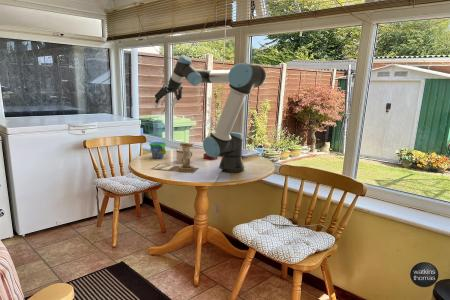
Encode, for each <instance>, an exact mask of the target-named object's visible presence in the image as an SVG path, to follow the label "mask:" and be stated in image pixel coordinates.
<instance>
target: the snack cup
mask: <svg viewBox="0 0 450 300" xmlns="http://www.w3.org/2000/svg"><path fill="white" fill-rule="evenodd" d="M166 144H167V143H166V142H163V141H153V142H149V146H150V152H151V156H152V158H153V159H163V158H164V155H166V153H167V151H166Z"/></svg>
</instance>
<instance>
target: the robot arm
mask: <svg viewBox="0 0 450 300" xmlns="http://www.w3.org/2000/svg"><path fill="white" fill-rule="evenodd" d="M192 61H193V60H192V59H191V58H190V57H189V56H187V55H185V54H181V55H180V56H179V57H178V59H177V61H176V64H175V66H174V69H173V71H172V72H171V76H170V77H169V80H168V84H167V85H166V84H165V83H164V84H163V85H162V87H161V88H160V89H159V90H158V92H156V94H155V95H154V98H156V99H155V103H154V104H153V105H154V108H156V109H158V107H159V105H160V103H161V99H162V98H164V97H165V96H166V95H167V94H170V93H171V94H173V93H174V98H173V99H172V101H171V104H170V106H171V108H173V109H174V108H175V106H176V104H177V103H178V101H180V100H181V99H182V96H183V92H182V91H183V86H182V84H183V81H184V79H185V80H186V81H188V83H189V84H191V86H194V87H196V86H198V85H200V84H203V83H204V84H229V85H228V86H229V93H228V96H227V98H226V101H225V104H224V106H223V108H222V111H221V114H220V116H219V118H218V121H217V124H216V126H215V128H213V129H211V132H210V135H209V136H206V137H204V139H203V142H202V147H203V151H204V152H205V153H206V154H207V155H208V156H210V157H217V158H218V157H220V156H221V159H220V162H219V165H218V167H219V169H221V172H224V173H229V174H230V173H234V174H235V173H242V172H244V170H245V165H244V161H243V157H242V151H243V139H244V138H243V134H242V133H241V132H234V131H232V130H233V128H234V126H235V123H236V120H237V119H238V116H239V114H240V111H241V108H242V107H243V104H244V101H245V99H246V96H249V95H250V94H251V92H252V90H253V89H254V88H260V87H262V86H263V85H264V84H265V82H266V80H267V72H266V69H264V67H263V66H261V65H258V64H252V63H247V62H241V63H240V62H238V63H236V64H234V65H233V66H232V67H231V68H230V69H218V70H217V69H212V70H211V69H209V70H206V69H195V68H194V67H193V66H192Z"/></svg>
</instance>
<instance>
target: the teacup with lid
mask: <svg viewBox="0 0 450 300" xmlns="http://www.w3.org/2000/svg"><path fill="white" fill-rule="evenodd" d="M175 151H176V163H178V164H179V163H180V164H183V146H180V147H179V148H177V149H176V150H175ZM192 157H193V152H192V150H190V159H191V158H192Z"/></svg>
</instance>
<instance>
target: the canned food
mask: <svg viewBox="0 0 450 300" xmlns="http://www.w3.org/2000/svg"><path fill="white" fill-rule="evenodd" d="M203 159H204V160H205V161H206V160H207V161H215V160H217V159H218V157H210V156H208V155H207V154H206V152H205V153H203Z"/></svg>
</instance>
